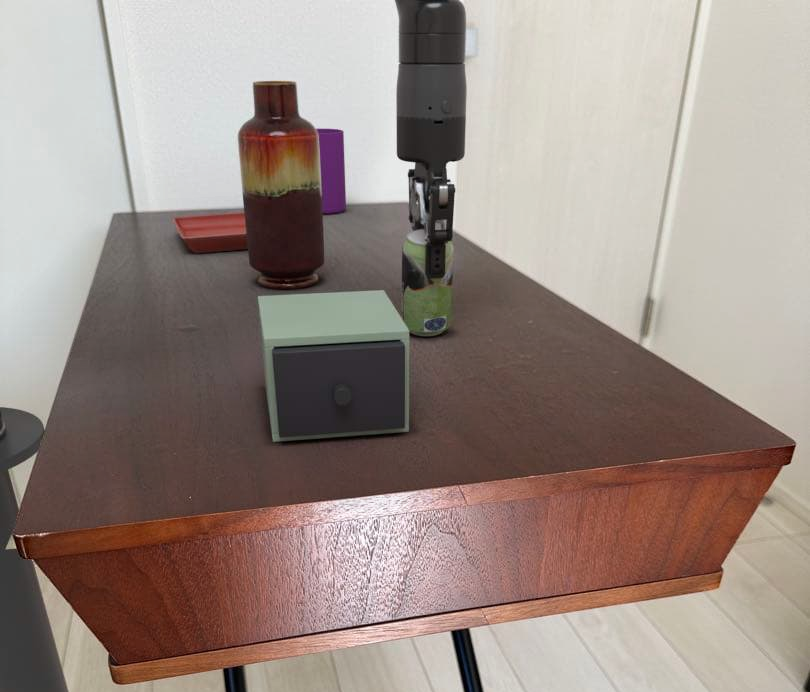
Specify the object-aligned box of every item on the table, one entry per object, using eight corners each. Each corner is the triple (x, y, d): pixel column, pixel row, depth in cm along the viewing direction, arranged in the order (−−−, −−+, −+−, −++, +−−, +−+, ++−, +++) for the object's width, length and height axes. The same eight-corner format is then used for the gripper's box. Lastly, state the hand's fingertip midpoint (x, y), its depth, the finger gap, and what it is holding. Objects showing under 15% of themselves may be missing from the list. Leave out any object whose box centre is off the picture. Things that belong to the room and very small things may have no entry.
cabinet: (409, 431, 78) (409, 330, 73) (272, 442, 76) (263, 338, 71) (385, 380, 90) (383, 289, 85) (265, 388, 88) (257, 296, 83)
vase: (335, 275, 128) (327, 80, 115) (311, 293, 119) (299, 84, 105) (267, 270, 130) (252, 79, 117) (238, 288, 121) (218, 83, 108)
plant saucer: (184, 257, 138) (181, 236, 136) (174, 235, 153) (171, 216, 151) (292, 249, 143) (291, 229, 141) (272, 229, 158) (271, 210, 156)
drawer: (407, 433, 76) (407, 349, 72) (280, 443, 74) (273, 357, 70) (382, 380, 87) (381, 305, 83) (272, 387, 85) (265, 311, 81)
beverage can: (443, 323, 107) (445, 224, 101) (458, 340, 101) (462, 236, 95) (395, 326, 106) (394, 226, 100) (407, 343, 100) (408, 238, 94)
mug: (349, 214, 171) (347, 132, 163) (272, 217, 168) (266, 134, 160) (342, 206, 178) (339, 127, 171) (269, 209, 175) (262, 129, 168)
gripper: (385, 107, 96) (387, 259, 105) (409, 117, 84) (409, 287, 92) (449, 106, 97) (446, 256, 106) (482, 116, 85) (475, 284, 94)
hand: (429, 270), depth 99 cm, fingers closed on beverage can, 6 cm apart
